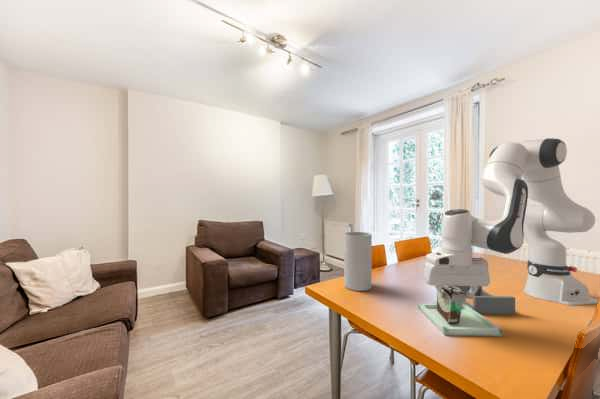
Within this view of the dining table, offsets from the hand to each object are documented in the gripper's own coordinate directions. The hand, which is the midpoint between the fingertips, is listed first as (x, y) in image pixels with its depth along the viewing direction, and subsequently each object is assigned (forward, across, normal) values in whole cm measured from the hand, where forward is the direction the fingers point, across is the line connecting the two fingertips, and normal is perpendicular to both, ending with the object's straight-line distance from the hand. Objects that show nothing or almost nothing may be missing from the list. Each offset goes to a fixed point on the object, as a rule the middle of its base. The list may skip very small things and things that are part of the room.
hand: (456, 297), depth 80 cm
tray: (+8, 0, 0) cm, 8 cm away
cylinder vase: (+8, +27, -30) cm, 41 cm away
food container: (+7, +2, 0) cm, 7 cm away
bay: (+8, -17, -14) cm, 23 cm away
